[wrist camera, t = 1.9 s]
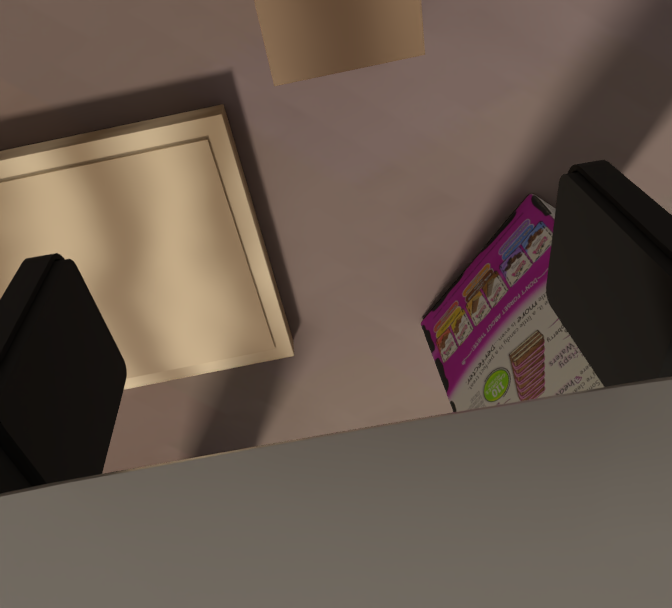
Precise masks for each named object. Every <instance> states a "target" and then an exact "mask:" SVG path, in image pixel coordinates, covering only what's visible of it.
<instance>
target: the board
mask: <svg viewBox="0 0 672 608" xmlns="http://www.w3.org/2000/svg"><path fill="white" fill-rule="evenodd" d="M55 253H58V254H60V255H62V256H63V257H64V259H71V260H73V261H74V262H75V264H76V265H77V267H78V269H79V271H80V273H81V275H82V277H83V279H84V281H85V283H86V285H87V287H88V289H89V291H90V293H91V295H92V297H93V299H94V301H95V303H96V305H97V307H98V309H99V311H100V313H101V315H102V317H103V319H104V321H105V323H106V325H107V327H108V329H109V331H110V333H111V335H112V337H113V339H114V341H115V343H116V345H117V347H118V349H119V351H120V353H121V355H122V357H123V359H124V361H125V364H126V369H127V377H126V382H125V386H124V389H129V388H134V387H139V386H144V385H149V384H154V383H159V382H164V381H169V380H174V379H180V378H185V377H190V376H195V375H200V374H205V373H210V372H215V371H220V370H225V369H230V368H235V367H240V366H245V365H250V364H255V363H260V362H266V361H271V360H276V359H281V358H286V357H291V356H294V347H293V339H292V335H291V332H290V328H289V325H288V322H287V318H286V315H285V311H284V308H283V305H282V301H281V298H280V294H279V291H278V288H277V284H276V281H275V278H274V274H273V271H272V267H271V264H270V261H269V257H268V254H267V250H266V247H265V244H264V240H263V237H262V233H261V230H260V227H259V223H258V220H257V216H256V213H255V210H254V206H253V203H252V199H251V196H250V193H249V189H248V186H247V183H246V179H245V176H244V172H243V169H242V166H241V162H240V159H239V155H238V152H237V149H236V145H235V142H234V138H233V135H232V132H231V128H230V125H229V121H228V118H227V115H226V111H225V108H224V104H222V105H217V106H212V107H208V108H203V109H198V110H193V111H189V112H184V113H179V114H174V115H170V116H165V117H160V118H155V119H151V120H146V121H141V122H136V123H131V124H127V125H122V126H117V127H112V128H108V129H103V130H98V131H93V132H89V133H84V134H79V135H74V136H70V137H65V138H60V139H55V140H51V141H46V142H41V143H36V144H31V145H27V146H22V147H17V148H12V149H8V150H3V151H0V299H1V297H2V295H3V294H4V292H5V290H6V289H7V287H8V285H9V284H10V282H11V280H12V279H13V277H14V275H15V274H16V272H17V270H18V269H19V267H20V265H21V264H22V262H23V261H24V260H25V259H26V258H31V257H37V256H43V255H49V254H55Z"/></svg>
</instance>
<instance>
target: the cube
mask: <svg viewBox="0 0 672 608" xmlns="http://www.w3.org/2000/svg"><path fill="white" fill-rule="evenodd" d="M254 2H255V6H256V11H257V15H258V19H259V23H260V28H261V32H262V36H263V40H264V45H265V49H266V53H267V57H268V61H269V66H270V70H271V74H272V78H273V83H274V86H278V85H283V84H288V83H292V82H297V81H302V80H307V79H311V78H316V77H321V76H326V75H330V74H335V73H340V72H345V71H349V70H354V69H359V68H364V67H368V66H373V65H378V64H383V63H387V62H392V61H397V60H402V59H406V58H411V57H416V56H421V55H425V49H424V35H423V21H422V7H421V0H254Z"/></svg>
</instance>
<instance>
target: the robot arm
mask: <svg viewBox="0 0 672 608" xmlns="http://www.w3.org/2000/svg"><path fill="white" fill-rule="evenodd" d="M546 295H547V300H548V302H549V304H550V306H551V308H552V309H553V311H554V312H555V314H556V315H557V317H558V318H559V320H560V321H561V323H562V324H563V326H564V327H565V329H566V330H567V332H568V333H569V335H570V336H571V338H572V339H573V341H574V342H575V344H576V345H577V347H578V348H579V350H580V351H581V353H582V354H583V356H584V357H585V359H586V360H587V362H588V363H589V365H590V366H591V368H592V369H593V371H594V372H595V374H596V375H597V377H598V378H599V380H600V381H601V383H602V384H603V386H604V387H602V388H596V389H590V390H584V391H578V392H572V393H566V394H560V395H554V396H548V397H542V398H536V399H530V400H524V401H518V402H512V403H506V404H500V405H494V406H488V407H483V408H477V409H471V410H465V411H459V412H453V413H447V414H441V415H435V416H429V417H423V418H417V419H412V420H406V421H400V422H394V423H388V424H383V425H377V426H371V427H365V428H359V429H353V430H348V431H342V432H336V433H330V434H325V435H319V436H313V437H307V438H302V439H296V440H290V441H284V442H279V443H273V444H267V445H261V446H256V447H250V448H245V449H239V450H233V451H228V452H222V453H217V454H211V455H205V456H200V457H194V458H189V459H183V460H177V461H172V462H166V463H161V464H155V465H149V466H144V467H138V468H133V469H127V470H121V471H116V472H110V473H104V474H102V471H103V467H104V464H105V460H106V456H107V452H108V448H109V444H110V440H111V436H112V432H113V429H114V425H115V421H116V417H117V413H118V409H119V405H120V401H121V397H122V394H123V390H124V386H125V382H126V377H127V369H126V364H125V361H124V359H123V357H122V355H121V353H120V351H119V349H118V347H117V345H116V343H115V341H114V339H113V337H112V335H111V333H110V331H109V329H108V327H107V325H106V323H105V321H104V319H103V317H102V315H101V313H100V311H99V309H98V307H97V305H96V303H95V301H94V299H93V297H92V295H91V293H90V291H89V289H88V287H87V285H86V283H85V281H84V279H83V277H82V275H81V273H80V271H79V269H78V267H77V265H76V264H75V262H74V261H73V260H71V259H64V257H63V256H62V255H60V254H58V253H55V254H49V255H43V256H37V257H31V258H26V259H25V260H24V261H23V262H22V264H21V265H20V267H19V269H18V270H17V272H16V274H15V275H14V277H13V279H12V280H11V282H10V284H9V285H8V287H7V289H6V290H5V292H4V294H3V295H2V297H1V299H0V608H672V215H671V214H670V213H668V212H667V211H666V210H665V209H664V208H662V207H661V206H660V205H659V204H658V203H656V202H655V201H654V200H653V199H652V198H650V197H649V196H648V195H647V194H646V193H645V192H643V191H642V190H641V189H640V188H639V187H637V186H636V185H635V184H634V183H633V182H631V181H630V180H629V179H628V178H627V177H625V176H624V175H623V174H622V173H621V172H620V171H618V170H617V169H616V168H615V167H614V166H612V165H611V164H610V163H609V162H607V161H605V160H600V161H594V162H588V163H582V164H577V165H573V166H572V167H571V168H570V169H569V171H568V174H563V175H562V176H561V178H560V181H559V188H558V195H557V203H556V211H555V219H554V227H553V235H552V243H551V251H550V259H549V267H548V275H547V283H546Z"/></svg>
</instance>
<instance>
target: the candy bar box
mask: <svg viewBox="0 0 672 608" xmlns="http://www.w3.org/2000/svg"><path fill="white" fill-rule="evenodd" d="M555 211H556V209H555V208H553V207H552V206H551V205H549V204H548V203H546V202H545V201H543V200H542V199H540V198H539V197H537V196H536V195H534V194H530V195H528V196H527V197H526V198H525V200H524V201H523V202H522V203H521V204H520V206H519V207H518V208H517V209H516V210H515V211H514V213H513V214H512V215H511V216H510V217H509V219H508V220H507V221H506V222H505V223H504V225H503V226H502V227H501V228H500V229H499V231H498V232H497V233H496V234H495V235H494V237H493V238H492V239H491V240H490V241H489V243H488V244H487V245H486V246H485V247H484V249H483V250H482V251H481V252H480V253H479V255H478V256H477V257H476V258H475V259H474V261H473V262H472V263H471V264H470V265H469V267H468V268H467V269H466V270H465V271H464V273H463V274H462V275H461V276H460V277H459V279H458V280H457V281H456V282H455V283H454V284H453V286H452V287H451V288H450V289H449V290H448V291H447V293H446V294H445V295H444V296H443V297H442V299H441V300H440V301H439V302H438V303H437V304H436V306H435V307H434V308H433V309H432V310H431V312H430V313H429V314H428V315H427V316H426V317H425V319H424V320H423V321H422V322H421V327H422V329H423V331H424V334H425V337H426V340H427V342H428V345H429V348H430V350H431V353H432V356H433V359H434V361H435V364H436V366H437V369H438V372H439V375H440V377H441V380H442V382H443V385H444V388H445V390H446V393H447V396H448V399H449V402H450V404H451V406H452V409H453V412H459V411H465V410H471V409H477V408H483V407H488V406H494V405H500V404H506V403H512V402H518V401H524V400H530V399H536V398H542V397H548V396H554V395H560V394H566V393H572V392H578V391H584V390H590V389H596V388H602V387H604V386H603V384H602V383H601V381H600V380H599V378H598V377H597V375H596V374H595V372H594V371H593V369H592V368H591V366H590V365H589V363H588V362H587V360H586V359H585V357H584V356H583V354H582V353H581V351H580V350H579V348H578V347H577V345H576V344H575V342H574V341H573V339H572V338H571V336H570V335H569V333H568V332H567V330H566V329H565V327H564V326H563V324H562V323H561V321H560V320H559V318H558V317H557V315H556V314H555V312H554V311H553V309H552V308H551V306H550V304H549V302H548V300H547V295H546V283H547V275H548V267H549V259H550V251H551V243H552V235H553V227H554V219H555Z"/></svg>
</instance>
